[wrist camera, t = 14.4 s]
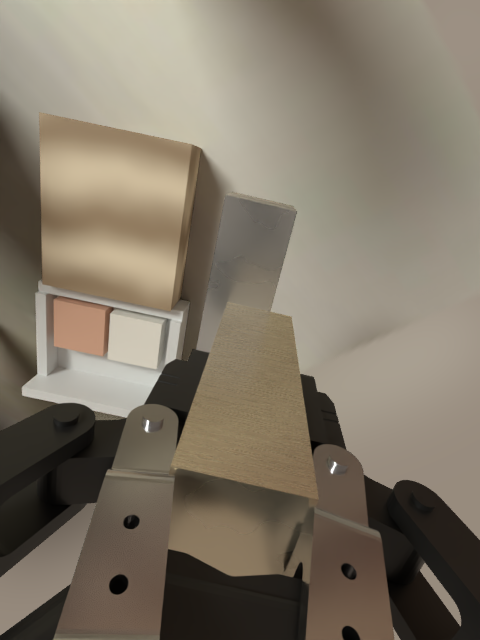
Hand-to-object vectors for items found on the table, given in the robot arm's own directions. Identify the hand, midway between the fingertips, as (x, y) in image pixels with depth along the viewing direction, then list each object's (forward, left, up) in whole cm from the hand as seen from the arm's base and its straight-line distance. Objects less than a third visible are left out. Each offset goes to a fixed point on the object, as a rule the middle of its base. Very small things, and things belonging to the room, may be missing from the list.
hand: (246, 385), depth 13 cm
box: (+12, -13, -23) cm, 29 cm away
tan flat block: (-1, -13, -23) cm, 27 cm away
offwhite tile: (+10, -10, -21) cm, 26 cm away
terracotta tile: (+10, -16, -21) cm, 28 cm away
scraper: (0, -1, -7) cm, 7 cm away
